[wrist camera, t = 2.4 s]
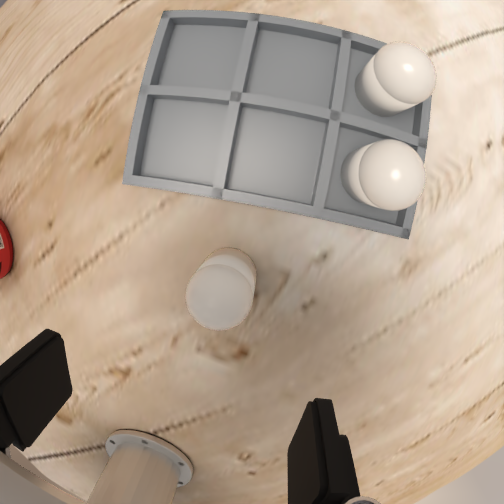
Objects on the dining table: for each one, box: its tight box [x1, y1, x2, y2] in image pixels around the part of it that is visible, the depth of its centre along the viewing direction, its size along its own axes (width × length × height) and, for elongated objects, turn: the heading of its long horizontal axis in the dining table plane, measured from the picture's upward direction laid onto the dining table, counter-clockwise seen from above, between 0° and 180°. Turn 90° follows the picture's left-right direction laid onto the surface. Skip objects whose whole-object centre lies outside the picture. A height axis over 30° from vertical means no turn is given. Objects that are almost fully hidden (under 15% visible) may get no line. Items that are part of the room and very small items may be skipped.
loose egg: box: [185, 248, 257, 331], centre depth 22 cm, size 5×5×7 cm
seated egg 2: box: [340, 139, 426, 211], centre depth 19 cm, size 5×5×7 cm
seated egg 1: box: [354, 42, 437, 117], centre depth 17 cm, size 5×5×7 cm
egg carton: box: [122, 10, 432, 239], centre depth 21 cm, size 16×23×2 cm
